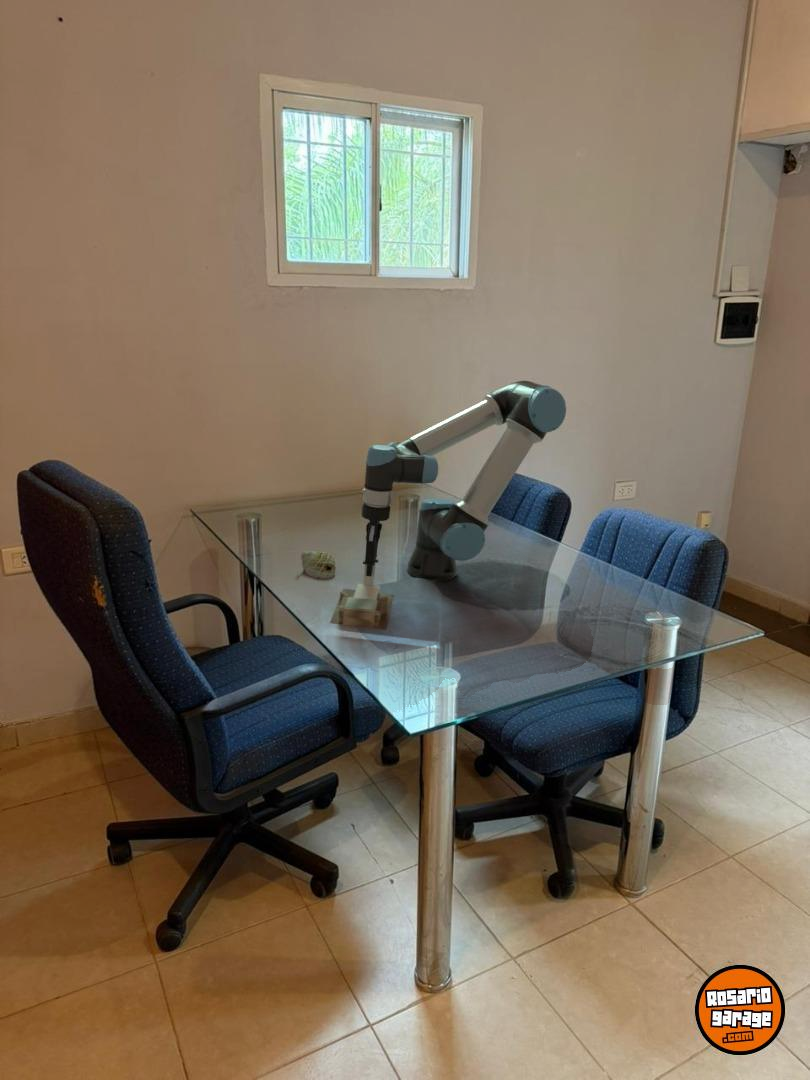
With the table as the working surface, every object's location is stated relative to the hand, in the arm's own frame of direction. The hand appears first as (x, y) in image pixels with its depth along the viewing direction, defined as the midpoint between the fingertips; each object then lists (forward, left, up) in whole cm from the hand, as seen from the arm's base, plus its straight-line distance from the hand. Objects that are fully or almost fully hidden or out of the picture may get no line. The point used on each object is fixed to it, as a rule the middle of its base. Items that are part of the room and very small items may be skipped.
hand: (368, 585), depth 207 cm
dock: (0, +13, -2) cm, 13 cm away
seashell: (+16, -9, -3) cm, 18 cm away
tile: (0, +7, -1) cm, 7 cm away
